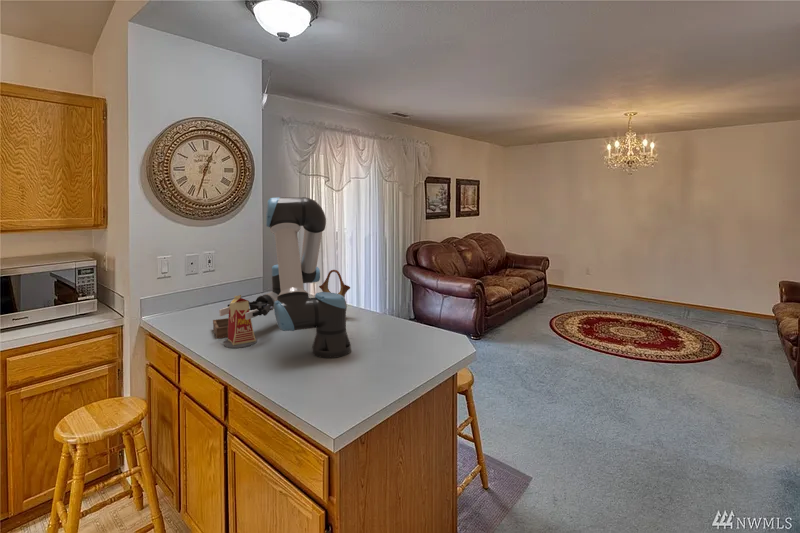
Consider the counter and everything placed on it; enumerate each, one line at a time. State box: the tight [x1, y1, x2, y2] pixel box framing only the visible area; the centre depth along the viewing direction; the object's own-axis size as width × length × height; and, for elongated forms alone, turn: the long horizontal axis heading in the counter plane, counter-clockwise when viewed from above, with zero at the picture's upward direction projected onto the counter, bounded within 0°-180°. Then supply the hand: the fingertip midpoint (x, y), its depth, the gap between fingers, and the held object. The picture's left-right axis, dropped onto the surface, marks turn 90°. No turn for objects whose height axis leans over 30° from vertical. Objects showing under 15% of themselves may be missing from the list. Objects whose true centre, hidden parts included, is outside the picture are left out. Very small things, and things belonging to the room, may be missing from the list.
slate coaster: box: [223, 336, 258, 349], centre depth 175 cm, size 13×13×1 cm
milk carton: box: [227, 294, 256, 345], centre depth 173 cm, size 9×9×20 cm
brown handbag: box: [318, 269, 351, 311], centre depth 207 cm, size 16×9×25 cm, turn 77°
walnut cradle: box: [212, 317, 229, 339], centre depth 188 cm, size 14×14×4 cm
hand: (232, 314), depth 169 cm, fingers open, 13 cm apart
